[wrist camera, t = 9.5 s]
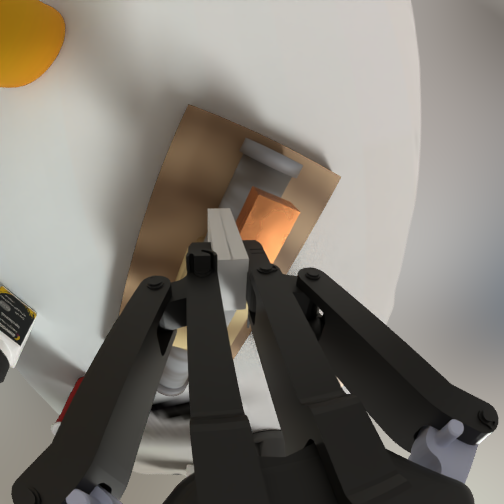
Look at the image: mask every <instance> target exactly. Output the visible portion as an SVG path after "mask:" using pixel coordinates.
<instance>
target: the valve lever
mask: <svg viewBox="0 0 504 504" xmlns="http://www.w3.org/2000/svg"><path fill="white" fill-rule="evenodd" d="M299 214H300V211H299V210H298V209H297V208H296V207H295V206H294V205H293V204H292V203H291V202H289V201H287V200H285V199H282V198H280V197H278V196H275V195H273V194H271V193H268V192H266V191H263V190H261V189H259V188H256V187H254V186H252V188H251V190H250V192H249V195H248V197H247V199H246V201H245V203H244V205H243V207H242V209H241V212H240V214H239V216H238V218H237V220H236V222H235V223H236V226H237V228H238V231H239V234H240V236H241V239H242V240H256V241H258V242H259V243H260V244H261V245H262V247H263V250H264V251H265V253H266V255H267V257H268V259H269V261H270V263H272V264H273V262H274V260H275V258H276V257H277V255H278V253H279V251H280V249H281V247H282V246H283V244H284V242H285V240H286V238H287V236H288V235H289V233H290V231H291V229H292V227H293V225H294V223H295V221H296V220H297V218H298V216H299ZM235 312H236V310H228V311H224V314H225V319H226V325H227V327H228V325H229V323H230V321H231V320H232V318H233V316H234V314H235Z"/></svg>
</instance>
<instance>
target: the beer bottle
mask: <svg viewBox="0 0 504 504" xmlns="http://www.w3.org/2000/svg"><path fill="white" fill-rule="evenodd" d="M64 36H65V23H64V19H63V18H62V16H61V14H60V13H59V12H58V11H57V10H55V9H54V8H53V7H51V6H48V5H46V4H44V3H42V2H40V1H39V0H0V87H6V88H12V87H20V86H24V85H27V84H29V83H31V82H33V81H34V80H36V79H37V78H39V77H40V76H41V75H42V74H43V73H44V72H45V71H46V70H47V69H48V68H49V67H50V66H51V64H52V63H53V62H54V60H55V59H56V57H57V55H58V53H59V51H60V49H61V47H62V44H63V41H64Z"/></svg>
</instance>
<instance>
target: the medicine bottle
mask: <svg viewBox="0 0 504 504" xmlns="http://www.w3.org/2000/svg"><path fill="white" fill-rule="evenodd" d="M36 317H37V313H36V312H35V311H34V310H32V309H31V308H30V307H28V306H27V305H26V304H25V303H23V302H22V301H21V300H20V299H18V298H17V297H16V296H15V295H13V294H12V293H11V292H10V291H9V290H8V289H6V288H5V287H4V286H1V287H0V383H1V382H3V381H4V379H5V376H6V374H7V371H8V369H9V367H12V368H15V366H16V363H17V361H18V359H19V357H20V354H21V352H22V350H23V348H24V346H25V344H26V342H27V339H28V337H29V335H30V332H31V329H32V327H33V324H34V322H35V319H36Z"/></svg>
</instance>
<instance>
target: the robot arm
mask: <svg viewBox="0 0 504 504" xmlns="http://www.w3.org/2000/svg"><path fill="white" fill-rule="evenodd" d="M186 269H187V275H186V276H185V277H184V278H183V279H181V280H178V281H175V282H170V280H169V279H168V278H167V277H164V276H156V275H155V276H150V277H148V278H146V279H144V280H143V281H142V282H141V283H140V284H139V286H138V287H137V289H136V290H135V292H134V294H133V295H132V297H131V298H130V300H129V301H128V303H127V304H126V306H125V308H124V309H123V311H122V312H121V314H120V316H119V317H118V319H117V320H116V322H115V324H114V325H113V327H112V329H111V330H110V332H109V334H108V335H107V337H106V339H105V340H104V342H103V344H102V346H101V347H100V349H99V351H98V353H97V354H96V356H95V358H94V360H93V361H92V363H91V365H90V367H89V369H88V371H87V372H86V374H85V376H84V378H83V380H82V382H81V384H80V386H79V387H78V389H77V391H76V393H75V395H74V397H73V399H72V401H71V403H70V405H69V407H68V409H67V411H66V413H65V415H64V418H63V420H62V422H61V424H60V426H59V428H58V430H57V433H56V435H55V437H54V439H53V442H52V444H51V445H50V446H49V447H48V448H47V449H46V450H45V451H44V452H43V453H42V454H41V455H40V456H39V457H38V458H37V459H36V460H35V461H34V462H33V463H32V464H31V465H30V467H28V468H27V469H26V470H25V471H24V473H22V475H21V476H20V477H19V478H18V479H17V480H16V481H15V483H14V484H13V486H12V494H11V495H12V499H13V502H14V504H122V503H121V502H120V501H119V500H120V498H121V497H122V495H123V493H124V491H125V489H126V487H127V484H128V482H129V479H130V476H131V473H132V469H133V466H134V462H135V459H136V455H137V452H138V448H139V445H140V442H141V438H142V435H143V432H144V429H145V425H146V422H147V419H148V416H149V413H150V410H151V407H152V404H153V400H154V397H155V394H156V391H157V388H158V385H159V382H160V379H161V377H162V374H163V371H164V368H165V365H166V362H167V359H168V356H169V354H170V351H171V348H172V345H173V342H174V340H175V337H176V334H177V329H178V328H181V327H185V326H187V358H188V381H189V398H190V412H191V419H190V435H191V446H192V456H193V465H194V473H192V474H191V475H189V476H188V477H186V478H185V479H184V480H182V481H181V482H180V483H179V484H178V485H177V486H176V487H175V489H174V490H173V491H172V492H171V494H170V495H169V496H168V497H167V499H166V500H165V501H164V502H163V504H474V498H473V495H472V492H471V491H470V489H469V488H468V487H467V486H466V485H465V481H466V479H467V477H468V474H469V471H470V468H471V465H472V462H473V459H474V456H475V453H476V450H477V447H478V445H479V443H480V442H481V441H483V440H484V439H485V438H486V437H488V436H489V435H490V434H491V433H492V432H493V431H494V430H495V429H496V428H497V425H498V415H497V412H496V410H495V409H494V407H493V406H491V405H490V404H489V403H486V402H485V401H483V400H481V399H479V398H477V397H475V396H473V395H471V394H469V393H467V392H465V391H463V390H461V389H459V388H457V387H456V386H454V385H452V384H450V383H449V382H448V381H447V380H446V379H445V378H444V377H443V376H442V375H441V374H440V373H438V372H437V371H436V370H435V369H434V368H433V367H432V366H431V365H430V364H429V363H428V362H426V360H424V359H423V358H422V357H421V356H420V355H419V354H418V353H416V351H414V350H413V349H412V348H411V347H410V346H409V345H408V344H407V343H406V342H404V341H403V340H402V339H401V338H400V337H399V336H398V335H397V334H395V333H394V332H393V331H392V330H391V329H390V328H389V327H387V326H386V325H385V324H384V323H383V322H382V321H381V320H379V319H378V318H377V317H376V316H375V315H374V314H372V313H371V312H370V311H369V310H368V309H367V308H366V307H364V306H363V305H362V304H361V303H360V302H358V301H357V300H356V299H355V298H354V297H353V296H351V295H350V294H349V293H348V292H347V291H346V290H344V289H343V288H342V287H341V286H340V285H338V284H337V283H336V282H335V281H334V280H332V279H331V278H330V277H329V276H328V275H326V274H325V273H324V272H322V271H321V270H318V269H316V268H303V269H301V270H300V271H299V272H298V276H291V275H285V274H282V272H281V270H280V268H279V267H278V266H276V265H274V264H272V263H270V261H269V259H268V257H267V255H266V253H265V251H264V250H263V247H262V245H261V244H260V243H259V242H258V241H256V240H242V239H241V236H240V234H239V231H238V228H237V226H236V223H235V220H234V218H233V215H232V212H231V209H230V208H214V209H208V242H192V243H191V244H190V246H189V247H188V253H187V255H186ZM246 301H247V305H248V319H247V328H249V326H251V329H252V333H253V336H254V340H255V343H256V347H257V350H258V354H259V357H260V361H261V364H262V367H263V371H264V374H265V378H266V381H267V384H268V388H269V391H270V395H271V398H272V401H273V404H274V408H275V411H276V414H277V418H278V421H279V424H280V427H281V431H280V430H273V431H263V432H258V433H254V434H252V431H251V427H250V423H249V420H248V417H247V416H246V415H245V414H244V410H243V406H242V401H241V397H240V392H239V387H238V382H237V377H236V372H235V367H234V362H233V357H232V352H231V347H230V341H229V336H228V330H227V325H226V319H225V314H224V311H228V310H243V309H246ZM319 309H321V310H322V312H323V316H322V315H321V314H320V313H319ZM337 378H338V379H339V380H340V381H341V382H342V384H343V385H344V386H345V387H346V388H347V389H348V391H349V392H350V393H351V394H346V393H345V392H344V391H343V389H342V387H341V385H340V383H339V381H338V379H337ZM366 411H367V412H368V413H369V415H370V416H371V417H372V418H373V419H374V420H375V422H376V423H377V424H378V425H379V426H380V427H381V428H382V429H383V431H385V433H386V434H387V435H388V436H389V437H390V438H391V439H392V440H393V441H394V442H395V443H397V444H398V445H399V446H401V447H402V448H403V449H405V450H407V451H408V452H410V453H411V455H410V456H409V458H408V459H406V458H404V457H402V456H400V455H397V454H395V453H393V452H391V451H389V450H387V449H385V447H384V445H383V443H382V441H381V439H380V437H379V435H378V433H377V431H376V429H375V427H374V425H373V424H372V421H371V419H370V418H369V416H368V414H367V412H366Z"/></svg>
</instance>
